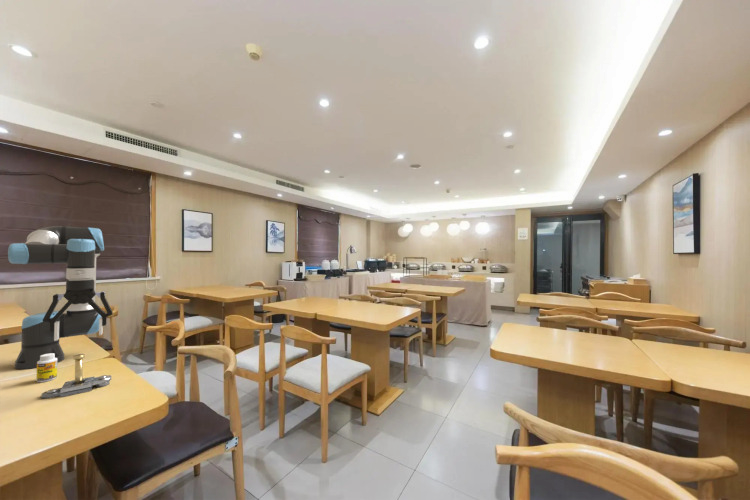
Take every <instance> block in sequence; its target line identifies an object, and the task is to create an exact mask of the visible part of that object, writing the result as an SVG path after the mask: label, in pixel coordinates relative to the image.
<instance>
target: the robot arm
mask: <svg viewBox="0 0 750 500" xmlns="http://www.w3.org/2000/svg"><path fill="white" fill-rule="evenodd" d="M7 249H8V250H7V258H8V262H9V263H10V264H12V265H15V264H16V265H21V264H22V265H27V264H28V265H30V264H31V265H33V264H34V265H35V264H66V270H65V271H66V274H65V276H66V277H65V279H66V282H65V293H63V294H60V293H59V294H58V293H56V294H53V295H52V301H51V304H50V306H49V307H48V309H47V311H45V312H40V313H35V314H32V315H28V316H26V317H24V318H23V319H22V323H21V327H20V329H21V341H20V342H21V349H20V351H19V353H18V355H17V357H16V360H15V363H14V369H16V370H28V369H30V370H31V369H35V368H36V369H37V362H38V361H39V360H40V356H41V355H44V354H49V353H55V358H57V363H60V362H61V361H64V360H65V353H64V350H63V349H62V347H61V344H60V339H62V338H64V339H65V338H70V337H77V336H88V335H91V334H96V333H98V336H103V331H104V330H103V327H105V326H107V318H108V317H111V316H112V315H113V310H112V308H111V306H110V304H109V302H108V299H107V298H106V291H104V290H103V291H96V290H97V287H96V286H97V285H96V284H97V258H98V257H99V256H100V255H101V252H103V251H105V246H104V236H103V232H102V230H101V229H100V228H98V227H96V228H95V227H84V226H83V227H82V226H63V225H57V226H56V225H54V226H53V225H52V226H48V227H47V226H46V227H42V228H38V229H36V230H33V231H31V232H30V233H29V234H28V236H26V241H25V242H24V243H23V242H21V243H11V244H9V246H8V248H7ZM96 296H97V298H100V300H101V303H102V304H103V307H104V309H105V311H106V312H105V311H104V310H103V308H101V307H100V306H99V305H98V303H96ZM63 298H65V300H66V301H67V302H66V303H65V304H64V305H63V306H62V307H61V308H60V309H59V310H55V309H56V307H57V305H58V304H59V303H60V302H59V301H61V300H63ZM65 312H66V313H65Z"/></svg>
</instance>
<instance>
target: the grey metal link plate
mask: <svg viewBox="0 0 750 500" xmlns="http://www.w3.org/2000/svg"><path fill="white" fill-rule="evenodd" d="M111 380H112V375H111V374H110V375H109V374H108V375H107V374H104V375H100V376H96V377H95V376H90V377H84V378H83V377H82V384H77V385H75V379H74V380H69V381H64V384H63V385H62V386H61V387H59V388H52V389H49V390H47V391H46V390H45V391H44V392H42V393H41V394H40V395H41V396H40V398H41V399H42V400H44V399H46V400H47V399H51V398H52V399H53V398H57V397H60V398H64V397H69V396H72V395H77V394H83V393H88V392H92V391H93V387H94V386H95V387H96V388H103V387H107V386H109V385H110V382H111Z"/></svg>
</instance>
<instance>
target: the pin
mask: <svg viewBox="0 0 750 500" xmlns="http://www.w3.org/2000/svg"><path fill="white" fill-rule="evenodd" d="M72 358H73V359H72V360H74V380H75V385H77V384H82V379H83V376H84V375H83V373H84V372H83V368H84V365H83V363H84V362H83V360H84V358H85V354H84V353H82V354H75V355H73V357H72Z"/></svg>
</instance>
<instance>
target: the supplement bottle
mask: <svg viewBox="0 0 750 500" xmlns="http://www.w3.org/2000/svg"><path fill="white" fill-rule="evenodd" d="M57 377H58V362H57V358H55V353H49V354H44V355H41V356H40V360H39V361H38V362H37V368H36V382H37V383H46V382H50V381H53V380H55V379H56V378H57Z"/></svg>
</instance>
